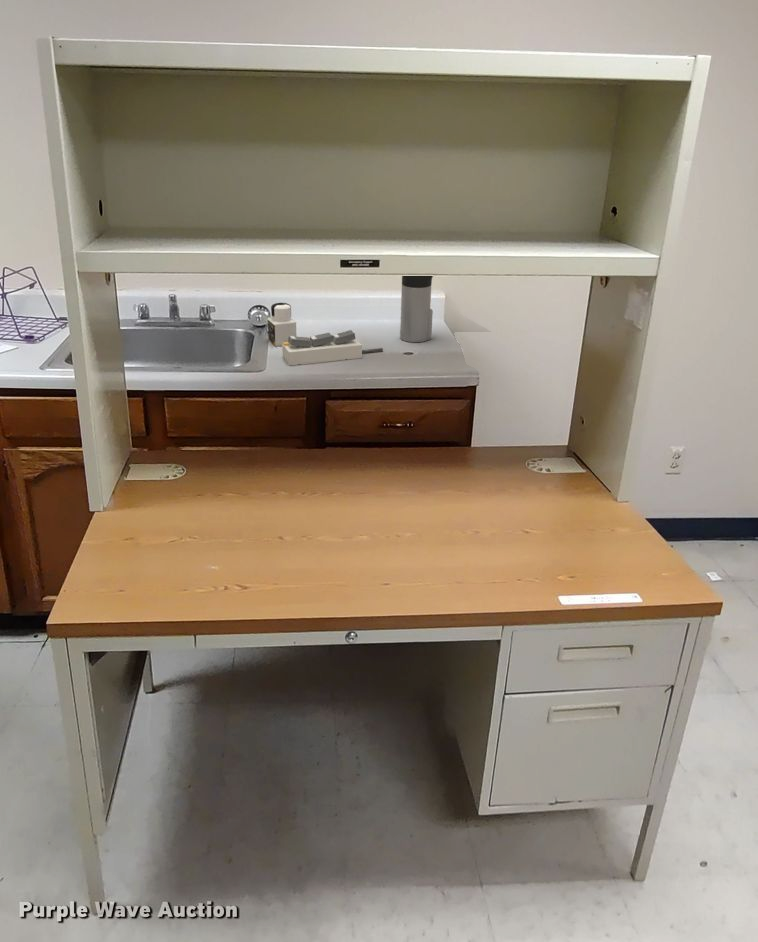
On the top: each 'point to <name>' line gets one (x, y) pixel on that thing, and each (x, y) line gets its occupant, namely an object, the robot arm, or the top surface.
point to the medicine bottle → (280, 324)
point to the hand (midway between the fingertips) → (334, 250)
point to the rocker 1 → (299, 341)
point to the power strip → (324, 352)
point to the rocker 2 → (344, 337)
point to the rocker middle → (321, 339)
